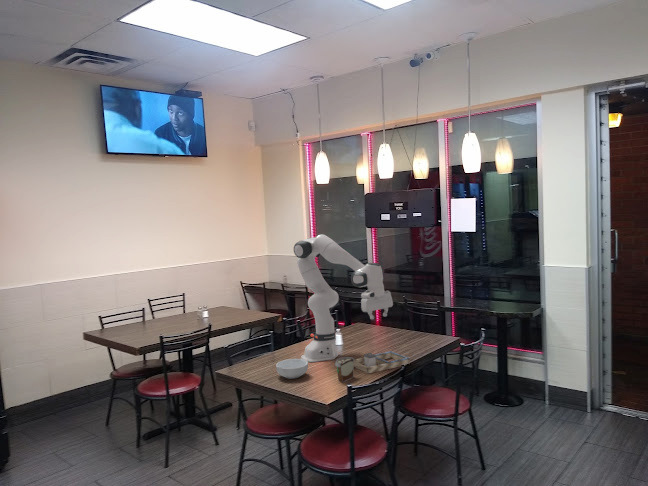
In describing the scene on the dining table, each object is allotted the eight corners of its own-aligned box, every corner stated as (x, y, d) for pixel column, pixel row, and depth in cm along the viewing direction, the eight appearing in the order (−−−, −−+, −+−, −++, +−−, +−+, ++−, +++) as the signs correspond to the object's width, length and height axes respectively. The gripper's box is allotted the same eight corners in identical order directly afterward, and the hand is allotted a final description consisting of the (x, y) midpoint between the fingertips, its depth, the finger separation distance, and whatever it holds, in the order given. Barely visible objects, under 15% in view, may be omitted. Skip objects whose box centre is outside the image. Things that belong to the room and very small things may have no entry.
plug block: (369, 369, 261) (369, 356, 261) (364, 366, 265) (364, 354, 265) (376, 367, 263) (375, 355, 262) (371, 365, 267) (370, 352, 267)
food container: (345, 374, 254) (344, 355, 253) (355, 376, 250) (354, 357, 250) (331, 381, 244) (330, 361, 244) (340, 383, 241) (339, 363, 240)
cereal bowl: (270, 377, 255) (269, 364, 255) (294, 369, 267) (293, 356, 267) (291, 384, 243) (290, 370, 243) (315, 375, 255) (314, 362, 254)
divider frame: (367, 373, 253) (367, 367, 253) (351, 365, 269) (351, 359, 268) (409, 364, 265) (409, 358, 265) (391, 357, 281) (391, 351, 281)
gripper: (386, 289, 272) (388, 314, 272) (358, 294, 260) (360, 320, 260) (394, 290, 266) (396, 314, 266) (366, 295, 255) (368, 321, 255)
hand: (378, 317), depth 263 cm, fingers open, 8 cm apart
